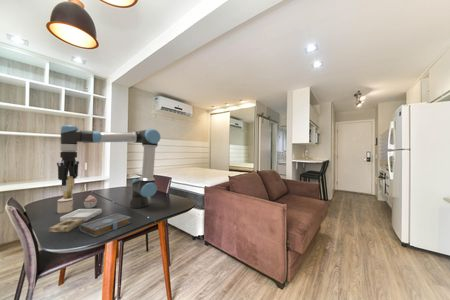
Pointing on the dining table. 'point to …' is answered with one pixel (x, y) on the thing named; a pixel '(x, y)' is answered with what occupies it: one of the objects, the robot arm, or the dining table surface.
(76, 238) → the dining table surface
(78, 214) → the tray
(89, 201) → the cupcake
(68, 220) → the block
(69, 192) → the lock pin
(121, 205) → the dining table surface
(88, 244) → the dining table surface
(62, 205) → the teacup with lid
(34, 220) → the dining table surface
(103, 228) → the book
